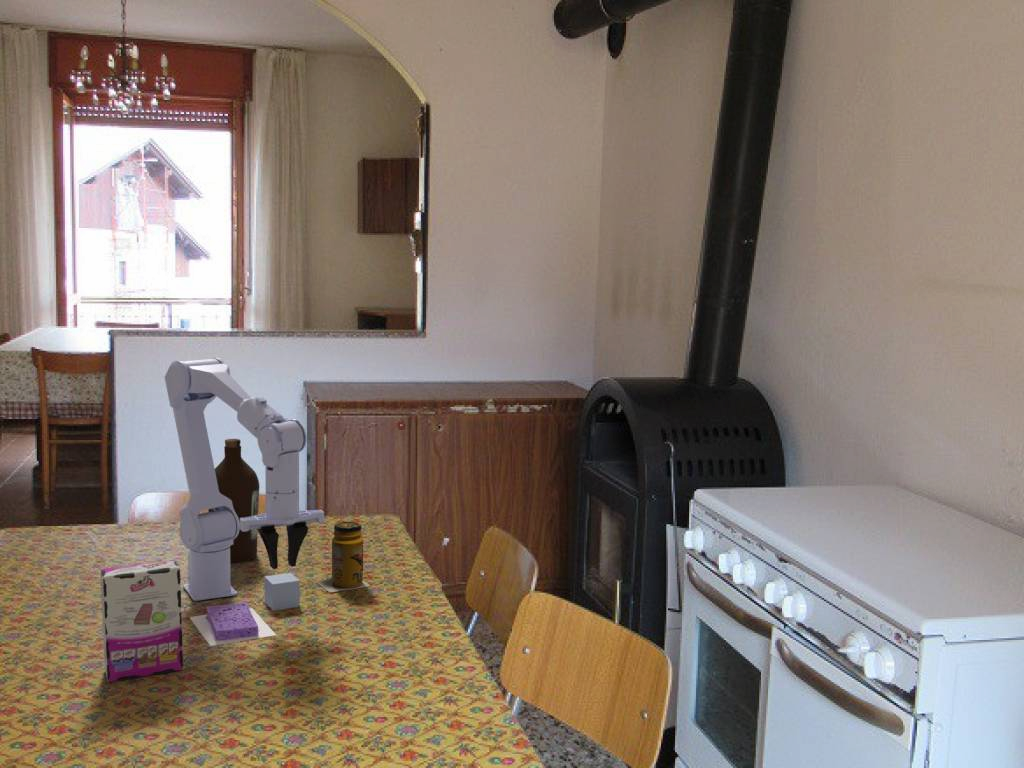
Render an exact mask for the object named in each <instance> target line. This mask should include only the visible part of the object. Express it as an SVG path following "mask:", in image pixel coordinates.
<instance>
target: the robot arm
mask: <svg viewBox="0 0 1024 768" xmlns="http://www.w3.org/2000/svg"><path fill="white" fill-rule="evenodd" d="M164 381H165V387H166V390H167V391H166V392H167V397H168V401H169V406H170V407H171V409H172V411H173V417H174V422H175V425H176V426H175V427H176V431H177V437H178V442H179V447H180V453H181V457H182V458H181V459H182V462H183V468H184V472H185V479H186V482H187V488H188V494H189V499H188V501H187V502H185V504H184V505H183V506H182V508H181V509H180V510H179V511H178V512H179V513H178V515H179V518H180V519H179V520H180V522H179V537H180V540H181V542H182V544H183V545H184V546H185V548H186V549H188V554H187V569H188V570H187V575H188V576H187V579H188V581H187V582H188V583H184V584H182V585H183V586H182V587H183V588H184V591H186V593H187V594H188V595H189V597H191V599H192V600H193V601H195V602H199V601H204V600H205V601H206V600H211V599H216V598H217V599H218V598H219V599H220V598H225V597H232V596H233V597H234V596H237V595H238V592H237V590H235V588H234V587H233V586H232V584H231V563H230V546H231V545H233V540H234V539H235V538H236V537H237V536H238V534H239V529H241V531H243V532H245V531H249V530H253V529H257V530H258V534H259V537H260V538H261V540H262V542H263V545H264V547H265V550H266V553H267V556H268V561H269V566H270V568H271V569H272V570H276V569H278V567H279V566H278V565H279V564H278V563H279V562H278V547H279V544H278V543H279V536H280V533H279V532H277V529H276V528H277V527H286V533H287V534H286V535H287V546H288V547H287V563H288V565H289V566H291V568H293V567H296V565H297V562H298V561H297V560H298V556H299V552H300V550H301V547H302V544H303V542H304V540H305V538H306V536H307V535H308V533H309V527H308V525H307V524H313V523H315V524H316V523H318V524H323V523H325V512H324V511H323V510H322V509H313V510H311V509H310V510H307V509H306V510H305V509H303V510H300V452H302V451H303V450H304V449H305V447H306V446H307V433H306V430H305V427H304V426H303V424H302V423H301V422H300V421H299V420H297V419H294V418H293V419H289V418H284V417H283V415H282V414H281V413H279V412H278V411H277V410H276V409H274V408H273V407H272V406H271V405H269V404H268V403H267V402H268V401H267V399H266V398H264V397H259V396H253V397H251V396H250V395H249V394H248V393H247V392H246V391H245V390H244V388H243V387H242V386H241V385H240V384H239V383H238V382H237V381H236V380H235V379H234V378H233V377H232V376H231V369H230V366H229V364H228V365H227V364H226V363H225V362H224V361H223V360H222V359H221V358H219V357H213V358H207V359H195V360H193V359H191V360H175V361H173V362H171V363H170V365H169V367H168V369H167V371H166V373H165V375H164ZM216 398H218V399H220V400H221V401H222V402H223V403H225V404H226V405H227V406H229V407H230V408H232V409H233V410H234V411H235V412H236V419H237V421H238V423H240V425H241V426H243V428H245V429H246V430H247V431H248V432H249V433H250V434H251V435H252V436H253V437H255V438H256V439H257V445H258V448H259V450H260V453H261V458H262V459H261V460H262V461H261V462H262V463H263V466H265V470H264V471H265V513H261V514H258V515H256V516H251V517H246V518H240V522H239V519H238V516H237V514H236V513H235V511H234V508H233V504H232V501H231V500H230V499H229V498H227V497H225V496H224V495H222V494H221V493H219V489H218V484H217V479H216V474H215V468H216V467H215V465H214V464H215V463H214V459H213V455H212V449H211V444H210V439H209V433H208V429H207V428H208V427H207V423H206V419H205V417H206V416H205V413H204V411H205V410H206V407H207V406H208V405H209V404H210V403H212V402H213V401H214V400H215V399H216ZM208 509H213V510H215V511H211V512H208V511H207V512H203V511H206V510H208ZM201 512H203V513H201Z"/></svg>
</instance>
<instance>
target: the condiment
mask: <svg viewBox="0 0 1024 768" xmlns="http://www.w3.org/2000/svg"><path fill="white" fill-rule="evenodd" d="M333 530H334V532H333V535H334V536H333V537H332V539H331V578H329V579H323V580H321V579H320V580H319V579H318V580H315V583H316V584H317V585H319V586H320V587H321V588H323V589H324V590H326V591H327V592H329V593H331V594H332V593H336V592H341V591H343V592H344V591H347V590H348V591H349V590H356V589H361V588H368V587H370V586H371V584H369V583H368V582H366V581H364V538H363V536H362V525H361V523H359V522H357V521H340V522H337V523H336V524H334V526H333Z"/></svg>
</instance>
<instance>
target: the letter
mask: <svg viewBox="0 0 1024 768" xmlns="http://www.w3.org/2000/svg"><path fill="white" fill-rule="evenodd" d="M249 609H250V611H251V613H252V616H253V617H254V620H255V621H256V623H257V625H258V635H255V636H250V637H243V638H242V637H239V638H234V639H223V640H217V639H216V638H215V635H214V632H213V630H212V627H211V624H210V621H209V619H208V616H207V614H202V615H196V616H189V618H190V620H191V622H192V623H193V625H194V626H195V627H196V629H197V630H198V631H199V633H200V634H201V635H202V637H203V638H204V640H205V641H206V642H207V643H208V646H209V647H215V646H221V645H226V644H234V643H239V642H245V641H252V640H256V639H262V638H269V637H274V636H277V634H276V632H274V631H273V629H272V628H271V627H270V625H268V624H267V623H266V622H265V621H264V619H262V617H261V616H260V615H259V614H258V613H257V612H256V611H255V609H253V607H249Z"/></svg>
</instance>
